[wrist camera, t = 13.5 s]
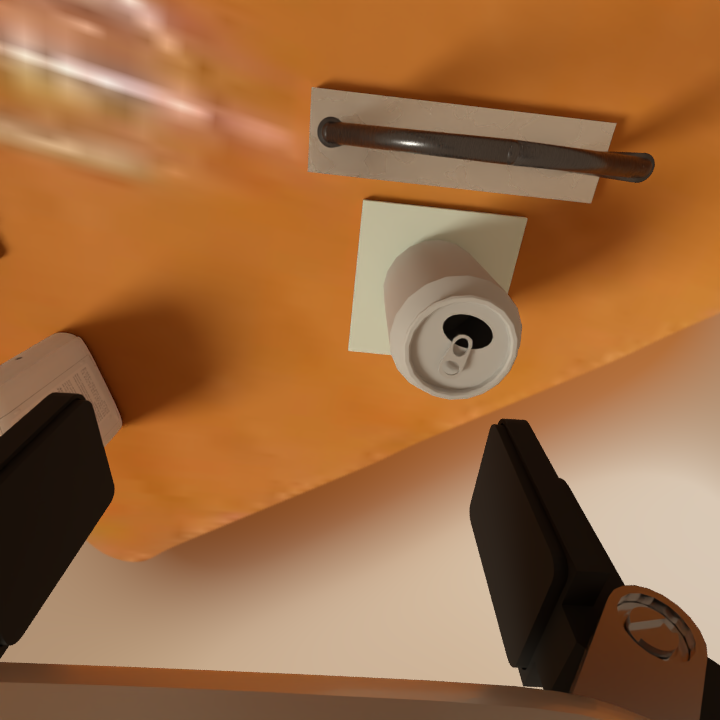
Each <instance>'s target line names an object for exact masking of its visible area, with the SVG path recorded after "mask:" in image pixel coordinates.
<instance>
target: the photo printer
mask: <svg viewBox="0 0 720 720" xmlns="http://www.w3.org/2000/svg"><path fill="white" fill-rule="evenodd" d="M54 392H60V393H77V394H82V395H83V396H84V397H85V399H86V400H88V401H90V402H91V403H92V405H93V408H94V412H95V416H96V419H97V423H98V427H99V430H100V434H101V438H102V442H103V445H104V447H105V446H106V445H107V443H108V442H109V441H110V440H111V439H112V438H113V437H114V436H115V435H116V433H117V432H118V431H119V430H120V428H121V427H122V420H121V417H120V414H119V411H118V409H117V407H116V404H115V402H114V400H113V398H112V396H111V394H110V392H109V390H108V387H107V385H106V383H105V381H104V379H103V377H102V375H101V373H100V371H99V369H98V367H97V365H96V363H95V361H94V359H93V357H92V355H91V353H90V352H89V350H88V348H87V346H86V345H85V343H84V342H83V340H82V339H81V338H80V337H76V336H75V335H73V334H70V333H55V334H53V335H51V336H49V337H47V338H46V339H44V340H42V341H41V342H39V343H37V344H35V345H34V346H32V347H30V348H29V349H27V350H25V351H24V352H22V353H20V354H18V355H17V356H15V357H13V358H12V359H10V360H8V361H7V362H5V363H3V364H2V365H0V436H2V435H3V434H4V433H5V432H6V431H7V430H9V429H10V428H11V427H12V426H13V425H14V424H15V423H17V422H18V421H19V420H20V419H21V418H22V417H23V416H25V415H26V414H27V413H28V412H29V411H30V410H32V409H33V408H34V407H35V406H36V405H37V404H38V403H40V402H41V401H42V400H43V399H44V398H45V397H46V396H48V395H49V394H51V393H54Z"/></svg>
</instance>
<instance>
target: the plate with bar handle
mask: <svg viewBox="0 0 720 720" xmlns="http://www.w3.org/2000/svg"><path fill="white" fill-rule="evenodd" d="M616 124H617V123H609V122H601V121H592V120H584V119H576V118H567V117H559V116H550V115H542V114H533V113H525V112H517V111H508V110H500V109H491V108H483V107H474V106H466V105H458V104H449V103H441V102H432V101H424V100H416V99H407V98H399V97H390V96H382V95H373V94H365V93H357V92H348V91H340V90H331V89H323V88H314V87H312V92H311V114H310V136H309V158H308V172H315V173H324V174H333V175H342V176H351V177H360V178H369V179H378V180H387V181H396V182H405V183H413V184H422V185H431V186H440V187H449V188H458V189H467V190H476V191H485V192H494V193H503V194H512V195H521V196H530V197H538V198H547V199H556V200H565V201H574V202H583V203H591V202H592V199H593V195H594V192H595V189H596V186H597V183H598V180H599V177H602V178H609V179H615V180H622V181H628V182H635V183H639V182H642V181H644V180H646V179H647V178H648V177H649V176H650V175H651V174H652V172H653V170H654V166H655V162H654V159H653V157H652V156H651V155H650V154H647V153H631V152H608V149H609V146H610V142H611V139H612V136H613V133H614V130H615V127H616Z"/></svg>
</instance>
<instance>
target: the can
mask: <svg viewBox="0 0 720 720" xmlns="http://www.w3.org/2000/svg"><path fill="white" fill-rule="evenodd" d="M383 289H384V304H385V312H386V320H387V328H388V336H389V344H390V352H391V355H392V357H393V360H394V362H395V365H396V367H397V369H398V370H399V372H400V373H401V374H402V375H403V376H404V377H405V378H406V379H407V381H408V382H409V383H411V384H413V385H414V386H416V387H418V388H420V389H421V390H423V391H425V392H427V393H429V394H431V395H433V396H436V397H440V398H445V399H449V400H451V399H468V398H471V397H474V396H477V395H480V394H483V393H485V392H486V391H488V390H490V389H491V388H493V387H494V386H496V385H497V384H499V383H500V381H501V380H502V379H503V378H504V377H505V376H506V375H507V374H508V372H509V371H510V370H511V368H512V365H513V363H514V361H515V359H516V357H517V352H518V349H519V347H520V341H521V332H522V324H521V320H520V316H519V312H518V308H517V307H516V305H515V304H514V302H513V301H512V300H511V298H510V297H509V295H508V294H507V293H506V291H505V290H504V289H503V288H502V287H501V286H500V285H499V284H498V283H497V282H496V281H495V280H494V279H493V278H492V277H491V276H490V274H489V273H488V272H487V271H486V270H485V269H484V268H483V267H482V266H481V265H480V264H479V263H478V262H477V261H476V260H475V259H474V258H473V257H472V255H471V254H470V253H469V252H467V251H466V250H464V249H463V248H461V247H460V246H458V245H457V244H454V243H450V242H447V241H443V240H432V241H423V242H421V243H418V244H416V245H413V246H411V247H409V248H407V249H406V250H405V251H404V252H402V253H401V254H400V255H399V256H397V257H396V259H395V260H394V262H393V263H392V265H391V266H390V268H389V269H388V271H387V274H386V278H385V281H384V285H383Z"/></svg>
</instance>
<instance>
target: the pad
mask: <svg viewBox="0 0 720 720" xmlns="http://www.w3.org/2000/svg"><path fill="white" fill-rule="evenodd" d="M527 219H528V218H526V217H520V216H511V215H502V214H493V213H484V212H475V211H466V210H457V209H448V208H439V207H429V206H420V205H411V204H402V203H393V202H384V201H375V200H366V199H363V207H362V217H361V227H360V237H359V247H358V257H357V267H356V277H355V287H354V297H353V307H352V317H351V327H350V337H349V347H348V351H355V352H365V353H376V354H386V355H391V352H390V344H389V336H388V328H387V320H386V312H385V304H384V289H383V285H384V281H385V278H386V274H387V271H388V269H389V268H390V266H391V265H392V263H393V262H394V260H395V259H396V257H397V256H399V255H400V254H401V253H402V252H404V251H405V250H406V249H407V248H409V247H411V246H413V245H416V244H418V243H421V242H423V241H432V240H443V241H447V242H450V243H454V244H457V245H458V246H460V247H461V248H463V249H464V250H466V251H467V252H469V253H470V254H471V255H472V257H473V258H474V259H475V260H476V261H477V262H478V263H479V264H480V265H481V266H482V267H483V268H484V269H485V270H486V271H487V272H488V273H489V274H490V276H491V277H492V278H493V279H494V280H495V281H496V282H497V283H498V284H499V285H500V286H501V287H502V288H503V289H504V290H505V291H506V293H507V294H508V291H509V287H510V284H511V280H512V276H513V272H514V268H515V265H516V261H517V257H518V253H519V249H520V246H521V242H522V238H523V234H524V230H525V227H526V223H527Z"/></svg>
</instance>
